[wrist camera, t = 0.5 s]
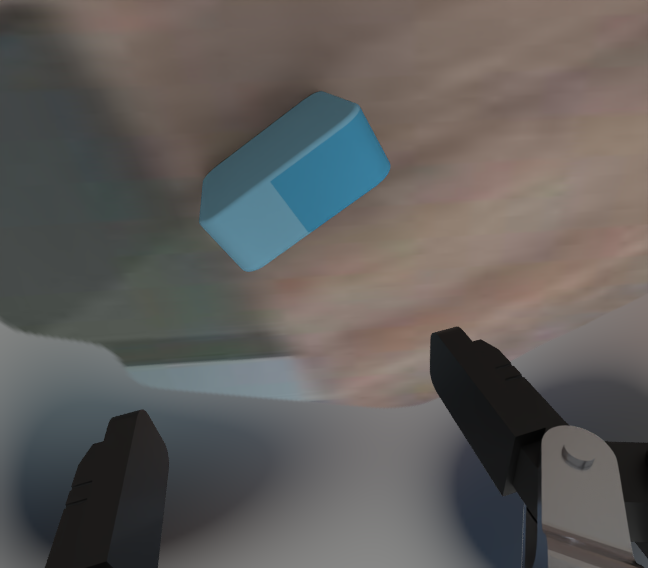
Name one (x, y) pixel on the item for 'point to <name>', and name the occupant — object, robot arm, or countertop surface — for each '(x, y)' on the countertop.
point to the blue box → (291, 179)
